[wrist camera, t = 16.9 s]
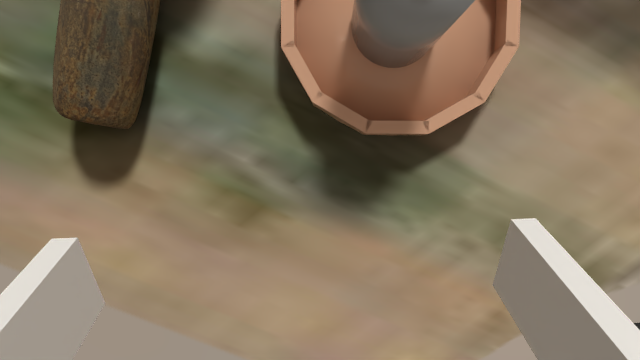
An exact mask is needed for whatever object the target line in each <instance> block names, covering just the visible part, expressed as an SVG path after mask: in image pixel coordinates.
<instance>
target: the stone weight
mask: <svg viewBox="0 0 640 360" xmlns="http://www.w3.org/2000/svg"><path fill="white" fill-rule="evenodd" d="M159 4H160V0H61V4H60V11H59V18H58V27H57V35H56V45H55V55H54V68H53V102H54V105H55V108H56V110H57V111H58V112H59V113H60V114H61V115H62V116H63V117H65V118H68V119H71V120H77V121H81V122H86V123H91V124H96V125H102V126H108V127H113V128H121V129H128V128H130V127H131V126H132V125H133V123H134V122H135V120H136V118H137V115H138V111H139V108H140V104H141V100H142V96H143V92H144V87H145V82H146V78H147V73H148V68H149V63H150V58H151V52H152V46H153V41H154V35H155V29H156V23H157V17H158V11H159Z"/></svg>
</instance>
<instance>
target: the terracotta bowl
mask: <svg viewBox="0 0 640 360" xmlns="http://www.w3.org/2000/svg"><path fill="white" fill-rule="evenodd" d="M353 5H354V0H281V48H282V50H283V52H284V54H285V56H286V58H287V59H288V61H289V63H290V65H291V67H292V68H293V70H294V72H295V74H296V75H297V77H298V79H299V81H300V83H301V84H302V86H303V88H304V90H305V91H306V93H307V95H308V97H309V98H310V100H311V102H312V104H313V105H314V106H315V107H317V108H319V109H320V110H322V111H324V112H326V113H327V114H328V115H330V116H331V117H333V118H334V119H336V120H337V121H339V122H341V123H343V124H345V125H347V126H349V127H351V128H353V129H354V130H356V131H358V132H360V133H361V134H363V135H388V136H395V135H426V134H429V133H431V132H433V131H435V130H436V129H438V128H440V127H442V126H444V125H445V124H447V123H449V122H451V121H452V120H454V119H456V118H458V117H460V116H461V115H463V114H465V113H467V112H468V111H470V110H472V109H474V108H476V107H477V106H479V105H481V104H483V103H484V102H485V101H486V99H487V98H488V96H489V94H490V93H491V91H492V90H493V88H494V86H495V85H496V83H497V81H498V80H499V78H500V77H501V75H502V73H503V72H504V70H505V68H506V67H507V65H508V64H509V62H510V60H511V59H512V57H513V55H514V54H515V52H516V50H517V49H518V47H519V33H520V9H521V0H475V1H474V2H473V3H472V4H471V5H470V7H469V8H468V9H467V10H466V11H465V12H464V13H463V14H462V15H461V16H460V17H459V18H458V19H457V21H456V22H455V23H454V24H453V25H452V26H451V27H450V28H449V29H448V30H447V31H446V32H445V33H444V35H443V36H442V37H441V38H440V39H439V40H438V41H437V42H436V43H435V44H434V45H433V46H432V48H431V49H430V50H429V51H428V52H427V53H426V54H425V55H424V56H423V57H422V58H421V59H419V60H418V61H416V62H414V63H412V64H410V65H408V66H405V67H400V68H387V67H383V66H380V65H377V64H375V63H373V62H371V61H370V60H368V59H367V58H366V57H365V56H364V55H363V54H362V53H361V52H360V51H359V49H358V48H357V46H356V44H355V42H354V39H353V36H352V30H351V19H352V12H353Z"/></svg>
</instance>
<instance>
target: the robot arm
mask: <svg viewBox="0 0 640 360" xmlns="http://www.w3.org/2000/svg"><path fill="white" fill-rule="evenodd" d="M493 286H494V288H495V290H496V291H497V293H498V295H499V296H500V298H501V300H502V301H503V303H504V305H505V306H506V308H507V310H508V311H509V313H510V315H511V316H512V318H513V320H514V321H515V323H516V325H517V326H518V328H519V330H520V331H521V333H522V334H523V336H524V338H525V339H526V341H527V343H528V344H529V346H530V348H531V349H532V351H533V353H534V354H535V356H536V358H537V359H538V360H640V323H632V321H631V320H630V319H629V318H628V317H627V316H626V315H625V314H624V313H623V312H622V311H621V310H620V308H619V307H618V306H617V305H616V304H615V303H614V302H613V301H612V300H611V299H610V298H609V297H608V296H607V295H606V293H605V292H604V291H603V290H602V289H601V288H600V287H599V286H598V285H597V284H596V283H595V282H594V281H593V279H592V278H591V277H590V276H589V275H588V274H587V273H586V272H585V271H584V270H583V269H582V268H581V267H580V266H579V264H578V263H577V262H576V261H575V260H574V259H573V258H572V257H571V256H570V255H569V254H568V253H567V252H566V251H565V249H564V248H563V247H562V246H561V245H560V244H559V243H558V242H557V241H556V240H555V239H554V238H553V237H552V236H551V234H550V233H549V232H548V231H547V230H546V229H545V228H544V227H543V226H542V225H541V224H540V223H539V222H538V220H537V219H536V218H532V219H511V221H510V225H509V229H508V232H507V236H506V239H505V243H504V246H503V250H502V254H501V257H500V261H499V264H498V268H497V271H496V275H495V278H494V282H493ZM104 305H105V301H104V299H103V296H102V294H101V292H100V289H99V287H98V285H97V282H96V280H95V278H94V275H93V273H92V270H91V268H90V266H89V263H88V261H87V259H86V256H85V254H84V251H83V249H82V247H81V244H80V242H79V240H78V238H58V239H51V240H50V241H49V242H48V243H47V244H46V245H45V246H44V248H43V249H42V250H41V251H40V252H39V253H38V254H37V255H36V256H35V257H34V258H33V260H32V261H31V262H30V263H29V264H28V265H27V266H26V267H25V268H24V269H23V270H22V272H21V273H20V274H19V275H18V276H17V277H16V278H15V279H14V280H13V281H12V282H11V284H10V285H9V286H8V287H7V288H6V289H5V290H4V291H3V292H2V293H1V294H0V360H73V358H74V356H75V355H76V353H77V351H78V349H79V348H80V346H81V344H82V343H83V341H84V339H85V337H86V336H87V334H88V332H89V331H90V329H91V327H92V325H93V324H94V322H95V320H96V319H97V317H98V315H99V313H100V312H101V310H102V308H103V306H104Z"/></svg>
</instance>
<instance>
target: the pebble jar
mask: <svg viewBox="0 0 640 360" xmlns="http://www.w3.org/2000/svg"><path fill="white" fill-rule="evenodd" d="M474 1H475V0H354V5H353V12H352V19H351V30H352V36H353V39H354V42H355V44H356V46H357V48H358V49H359V51H360V52H361V53H362V54H363V55H364V56H365V57H366V58H367V59H368V60H370V61H371V62H373V63H375V64H377V65H380V66H383V67H387V68H400V67H405V66H408V65H410V64H412V63H414V62H416V61H418V60H419V59H421V58H422V57H423V56H424V55H425V54H426V53H427V52H428V51H429V50H430V49H431V48H432V46H433V45H434V44H435V43H436V42H437V41H438V40H439V39H440V38H441V37H442V36H443V35H444V33H445V32H446V31H447V30H448V29H449V28H450V27H451V26H452V25H453V24H454V23H455V22H456V21H457V19H458V18H459V17H460V16H461V15H462V14H463V13H464V12H465V11H466V10H467V9H468V8H469V7H470V5H471V4H472V3H473V2H474Z"/></svg>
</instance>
